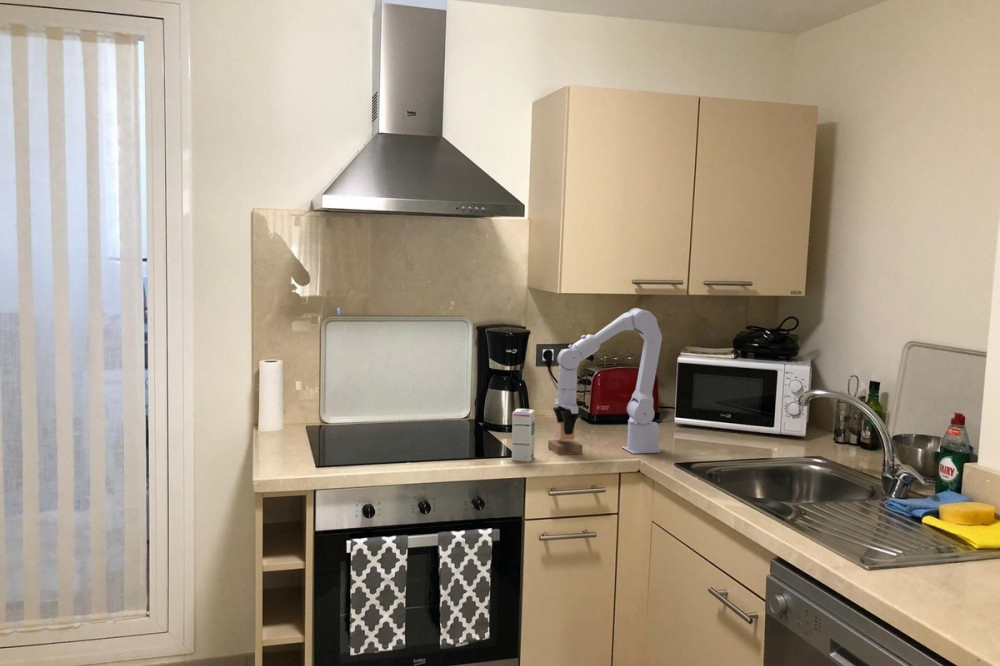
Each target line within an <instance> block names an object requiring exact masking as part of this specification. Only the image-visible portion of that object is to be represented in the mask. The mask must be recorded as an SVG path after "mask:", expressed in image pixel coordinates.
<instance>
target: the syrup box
mask: <svg viewBox="0 0 1000 666" xmlns="http://www.w3.org/2000/svg"><path fill="white" fill-rule="evenodd" d="M535 412H536V411H535V409H531V408H516V409H515V410H514V411H513V412H511V413H512V415H511V416H512V417H511V419H512V421H511V422H512V423H511V424H512V426H511V427H512V428H511V429H512V430H511V460H512V461H515V462H528V463H529V462H531V461H532V460H533V458H534V457H535Z"/></svg>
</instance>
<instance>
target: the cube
mask: <svg viewBox="0 0 1000 666" xmlns="http://www.w3.org/2000/svg"><path fill="white" fill-rule="evenodd" d="M575 428H576V425H575V426H574V429H573V433H572V434H565V431H564V422H557V421H555V437H556V438H557V439H558V440H565V439H573V440H575V432H576V431H575Z"/></svg>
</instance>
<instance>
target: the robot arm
mask: <svg viewBox="0 0 1000 666" xmlns="http://www.w3.org/2000/svg"><path fill="white" fill-rule="evenodd" d="M657 319H658V318H656V316H655V315H654V314H653V313H652V312H650V311H649V310H645V309H642V308H638V307H634V308H631V309H630V310H629V311H627V312H624V313H622V314H621V315H620V316H618V317H617V318H615V319H614V320H612V321H611V322H610V323H609V324H607V325H606V326H604V327H603V328H602V329H601V330H599V331H598V332H596V333H595V334H590V333H589V334H587V335H585V334H582V335H581V336H580V339H579V340H578V341H576V342H575V343H573V344H571V343H570V344H569V345H568V348H564V349H562V350H561V351H559V353H558V354H557V357H556V361H557V363H558V374H557V397H556V398H555V399H554V400H555V402H553V406H555V407H553V408H552V410H553V412H554V415H555V418H556V422H564V431H565V434H572V433H573V429H574V426H575V427H576V422H577V420H578V418H579V417H580V414H581V413H580V412H579V407H578V404H577V382H578V374H577V373H578V367H579V365H580V363H581V362H583V361H585V360H586V359H587V358H588V357H590V356H591V355H592V356H593V354H595V353H596V352H597V351H599V350H600V346H601V344H603V343H604V342H605V341H608V340H609V339H610V338H612V337H614V336H616V335H617V334H619V333H620V332H623V331H635V332H637V333H638V334H639V335H640V337H641V338H642V339H643V340H644V341H643V347H642V353H641V358H640V363H639V368H638V373H637V374H638V375H637V380H636V385H635V390H634V391H633V393H632V395H631V399H630V400H629V402H628V403H627V406H626V412H627V415H628V416H629V419H627V441H626V442H627V443H626V445H624V446H622V448H621V449H623V448H624V450H626V451H627V452H629V453H630V454H633V455H635V454H654V453H655V454H656V453H661V450H660V438H661V429H660V426H659V424H658V423H657V422H655V421H653V420H654V418H655V409H654V397H653V391H654V385H655V380H656V375H657V368H658V364H659V363H658V362H659V357H660V352H661V346H662V342H663V336H662V332H661V329H660V327H659V324H658V320H657Z"/></svg>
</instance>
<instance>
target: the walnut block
mask: <svg viewBox="0 0 1000 666" xmlns="http://www.w3.org/2000/svg"><path fill="white" fill-rule="evenodd" d="M547 441H548V442H547V443H548V446H547V449H548V448H549V449H548V450H549V451H551V450H552V451H551V452H553V451H554V452H555V453H554V452H553V453H554V454H556V455H557V454H563V455H570V454H569V453H582V454H583V444H581V443H580V442H578V441H576V440H575V439H565V440H560V439H548V440H547Z"/></svg>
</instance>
